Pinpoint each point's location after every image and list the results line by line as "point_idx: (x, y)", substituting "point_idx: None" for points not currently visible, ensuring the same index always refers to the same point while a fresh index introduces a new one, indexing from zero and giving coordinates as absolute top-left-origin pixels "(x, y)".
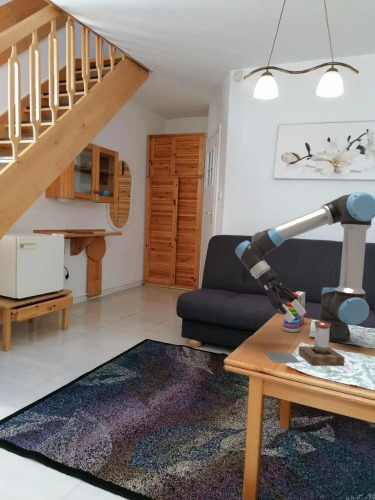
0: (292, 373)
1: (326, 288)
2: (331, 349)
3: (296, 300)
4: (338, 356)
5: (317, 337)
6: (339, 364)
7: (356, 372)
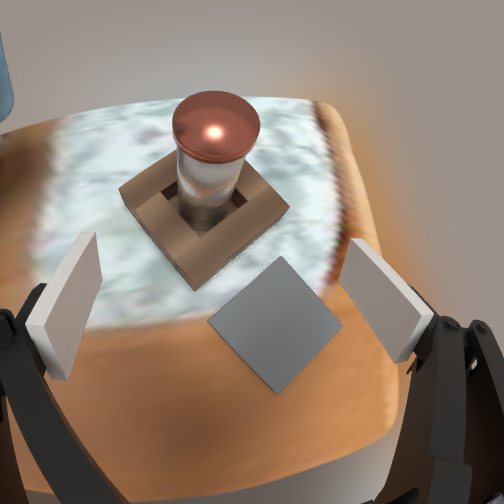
0: None
1: None
2: (150, 172)
3: (38, 312)
4: None
5: (238, 175)
6: None
7: None
